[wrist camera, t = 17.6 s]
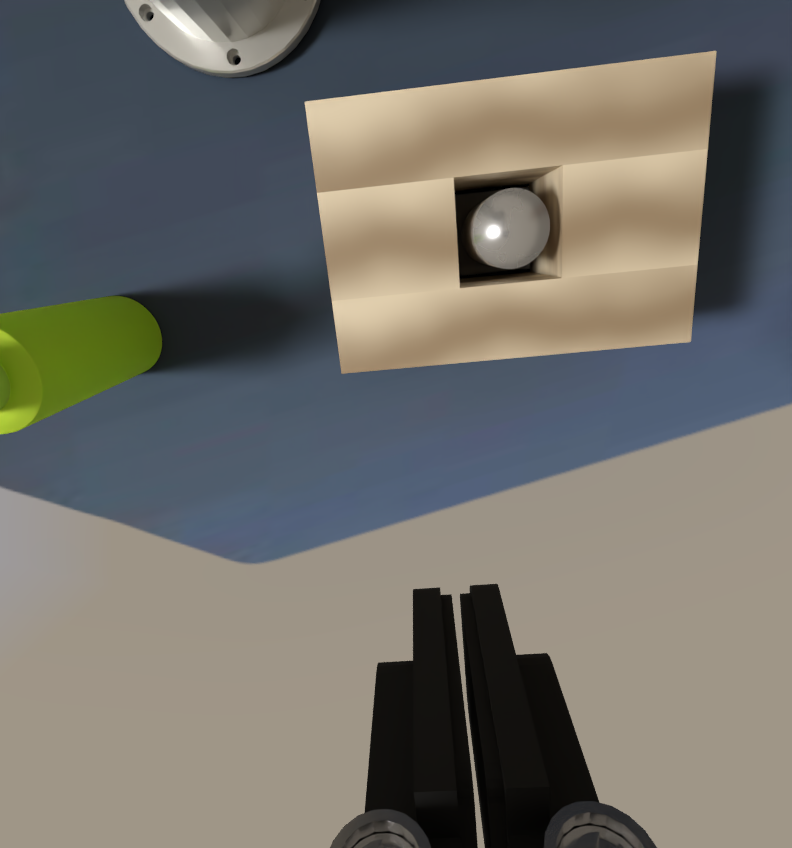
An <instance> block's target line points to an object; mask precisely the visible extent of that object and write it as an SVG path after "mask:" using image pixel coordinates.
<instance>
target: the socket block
mask: <svg viewBox="0 0 792 848" xmlns="http://www.w3.org/2000/svg"><path fill="white" fill-rule="evenodd" d="M715 62H716V51H711V52H703V53H695V54H687V55H679V56H671V57H663V58H655V59H646V60H638V61H630V62H622V63H614V64H606V65H598V66H590V67H582V68H574V69H566V70H558V71H549V72H541V73H533V74H525V75H517V76H509V77H501V78H493V79H485V80H477V81H469V82H461V83H452V84H444V85H436V86H428V87H420V88H412V89H404V90H396V91H388V92H380V93H372V94H364V95H355V96H347V97H339V98H331V99H323V100H315V101H307V102H305V108H306V116H307V123H308V130H309V138H310V145H311V152H312V159H313V167H314V174H315V181H316V189H317V196H318V203H319V211H320V218H321V225H322V233H323V240H324V247H325V255H326V262H327V269H328V276H329V284H330V291H331V298H332V306H333V313H334V320H335V328H336V335H337V342H338V350H339V357H340V364H341V372H342V374H343V373H354V372H365V371H376V370H387V369H398V368H409V367H420V366H431V365H442V364H453V363H464V362H475V361H486V360H497V359H508V358H519V357H530V356H541V355H552V354H563V353H574V352H585V351H596V350H607V349H618V348H629V347H640V346H651V345H662V344H673V343H684V342H691V333H692V322H693V310H694V299H695V288H696V277H697V265H698V254H699V243H700V231H701V220H702V209H703V197H704V186H705V175H706V164H707V152H708V141H709V130H710V118H711V107H712V96H713V84H714V73H715ZM522 184H529V191H530V192H532V193H534V194H535V195H536V196H538V197H539V198H540V199H541V201H542V202H543V203H544V205H545V207H546V209H547V211H548V214H549V219H550V232H549V237H548V240H547V243H546V245H545V247H544V248H543V250H542V252H541V253H540V254H539V255H538V256H537V257H536V258H535V259H534V260H533V261H532V262H530V272H522V273H512V274H502V275H492V276H482V277H472V278H462V279H459V263H458V245H457V228H456V210H455V192H459V191H468V190H477V189H486V188H495V187H504V186H513V185H522Z"/></svg>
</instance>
